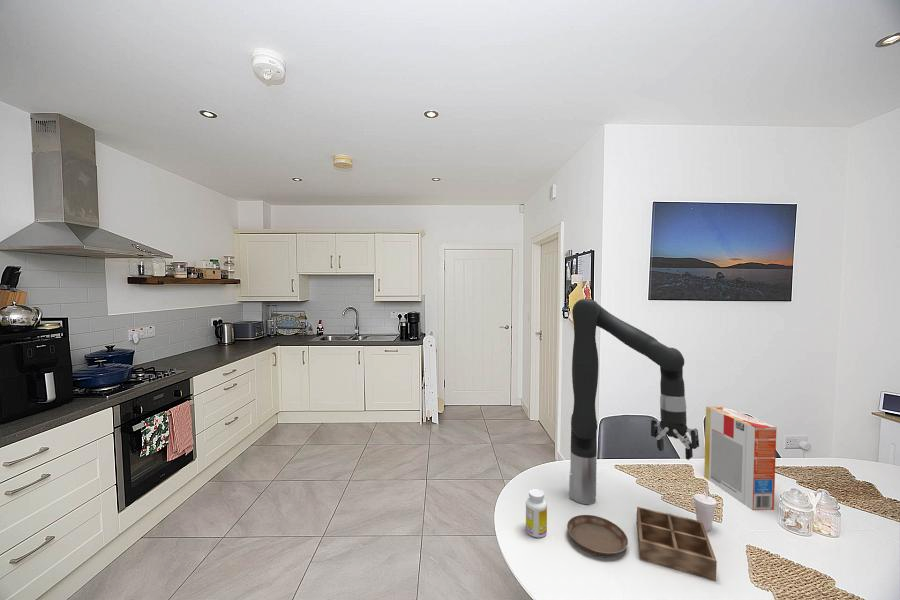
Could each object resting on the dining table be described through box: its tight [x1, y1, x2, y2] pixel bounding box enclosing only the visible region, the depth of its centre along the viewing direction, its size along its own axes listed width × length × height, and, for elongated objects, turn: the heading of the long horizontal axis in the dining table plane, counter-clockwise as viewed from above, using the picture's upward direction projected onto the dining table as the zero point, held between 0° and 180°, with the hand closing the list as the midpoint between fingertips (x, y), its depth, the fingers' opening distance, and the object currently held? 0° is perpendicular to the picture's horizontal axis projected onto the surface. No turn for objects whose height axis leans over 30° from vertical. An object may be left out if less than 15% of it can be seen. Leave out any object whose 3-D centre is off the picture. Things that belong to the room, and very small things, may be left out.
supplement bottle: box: [525, 488, 548, 538], centre depth 117 cm, size 7×7×13 cm
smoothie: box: [692, 485, 718, 532], centre depth 120 cm, size 6×6×14 cm
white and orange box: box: [703, 405, 777, 511], centre depth 141 cm, size 23×8×30 cm, turn 3°
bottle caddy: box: [636, 506, 718, 582], centre depth 110 cm, size 18×18×6 cm
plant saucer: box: [566, 514, 629, 558], centre depth 113 cm, size 18×18×3 cm
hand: (674, 454), depth 123 cm, fingers open, 8 cm apart
